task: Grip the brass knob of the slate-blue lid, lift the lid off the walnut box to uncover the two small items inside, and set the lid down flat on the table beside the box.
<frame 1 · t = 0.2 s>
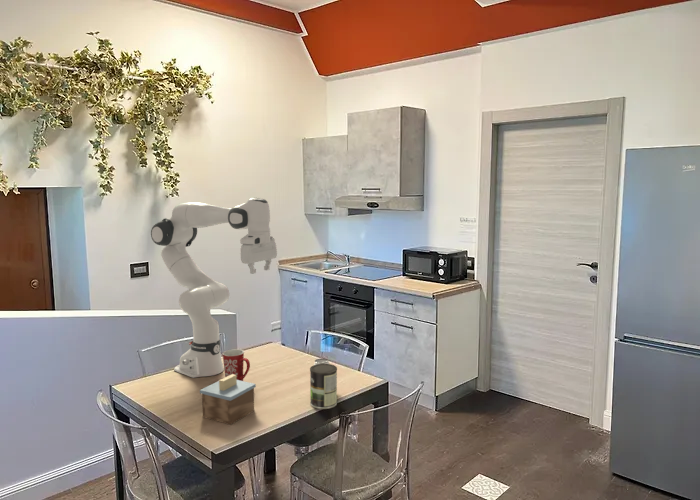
hand: (260, 271, 215), 48 cm above the table, tool pointing down, fingers open, 8 cm apart
can: (321, 389, 215), on the table
coffee can: (323, 404, 201), on the table
box: (228, 413, 192), on the table
mug: (237, 384, 220), on the table
lid: (228, 392, 191), point 8 cm above the table, touching box
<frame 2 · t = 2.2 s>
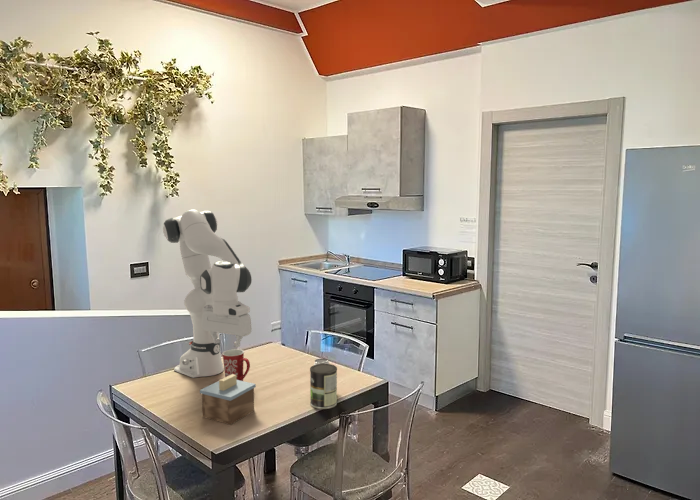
hand: (226, 344, 189), 26 cm above the table, tool pointing down, fingers open, 8 cm apart
nothing on the table moved.
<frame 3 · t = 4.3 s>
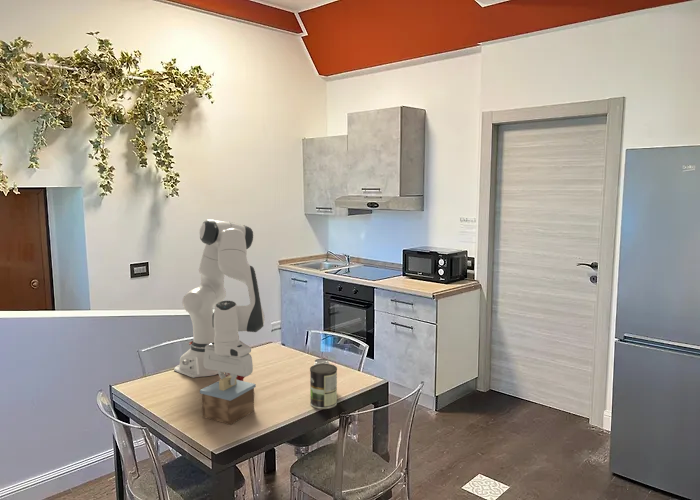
hand: (228, 383, 191), 11 cm above the table, tool pointing down, fingers closed on lid
lid: (228, 392, 191), point 8 cm above the table, touching box, gripper
everything else where it was.
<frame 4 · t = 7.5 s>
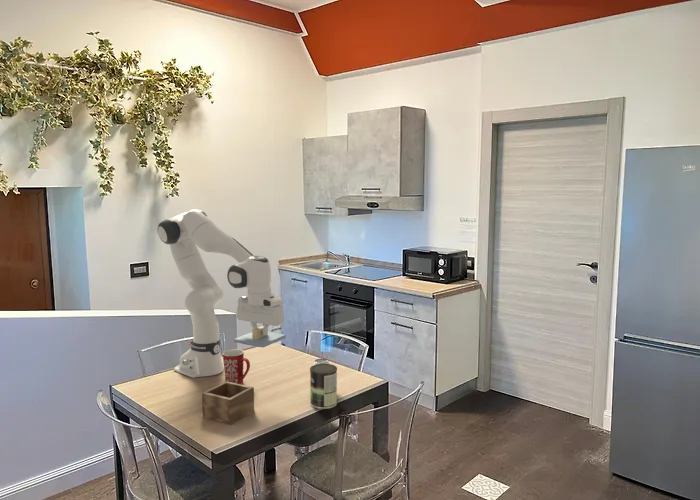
hand: (260, 333, 203), 26 cm above the table, tool pointing down, fingers closed on lid
lid: (260, 342, 203), point 23 cm above the table, touching gripper
everything else where it was.
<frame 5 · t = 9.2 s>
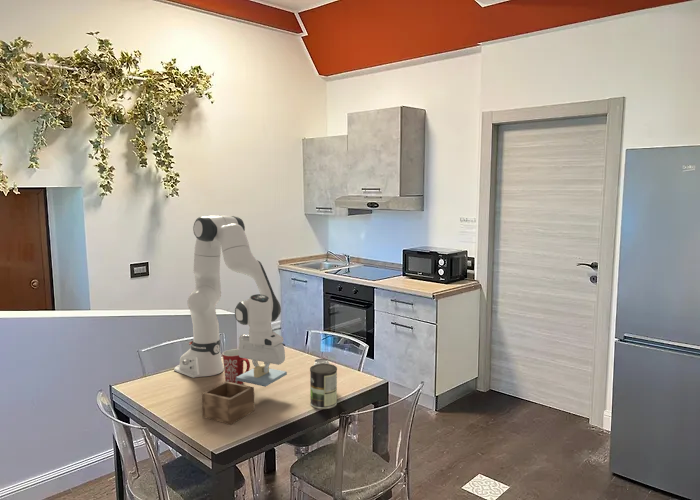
hand: (261, 371, 205), 11 cm above the table, tool pointing down, fingers closed on lid
lid: (261, 379, 205), point 7 cm above the table, touching gripper
everything else where it was.
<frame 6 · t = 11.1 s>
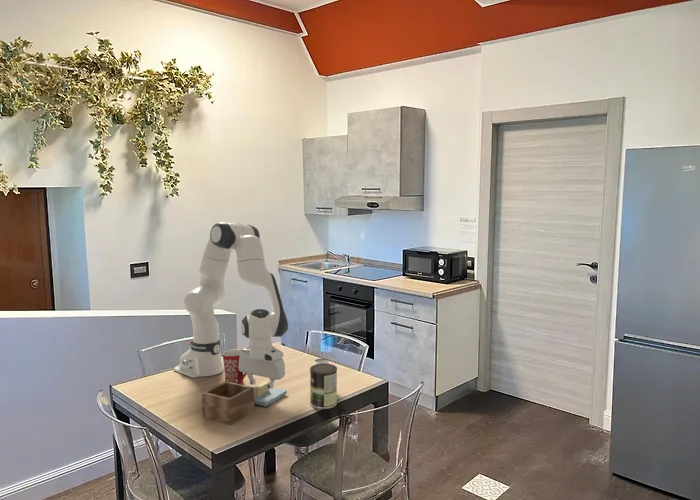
hand: (261, 386, 205), 5 cm above the table, tool pointing down, fingers open, 7 cm apart
lid: (261, 398, 206), on the table
everything else where it was.
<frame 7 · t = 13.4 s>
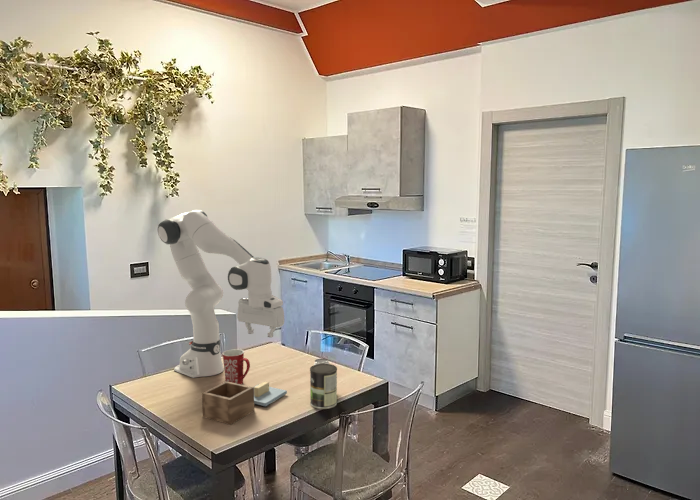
hand: (260, 335, 203), 25 cm above the table, tool pointing down, fingers open, 8 cm apart
nothing on the table moved.
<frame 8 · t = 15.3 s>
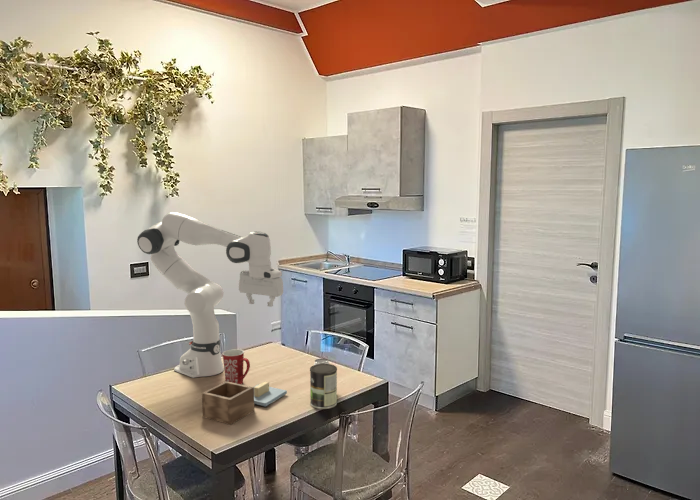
hand: (260, 305, 215), 34 cm above the table, tool pointing down, fingers open, 8 cm apart
nothing on the table moved.
at the end: lid inside the target area (0.1 cm from its centre), on the table; lid touching table; lid tilted 0° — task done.
